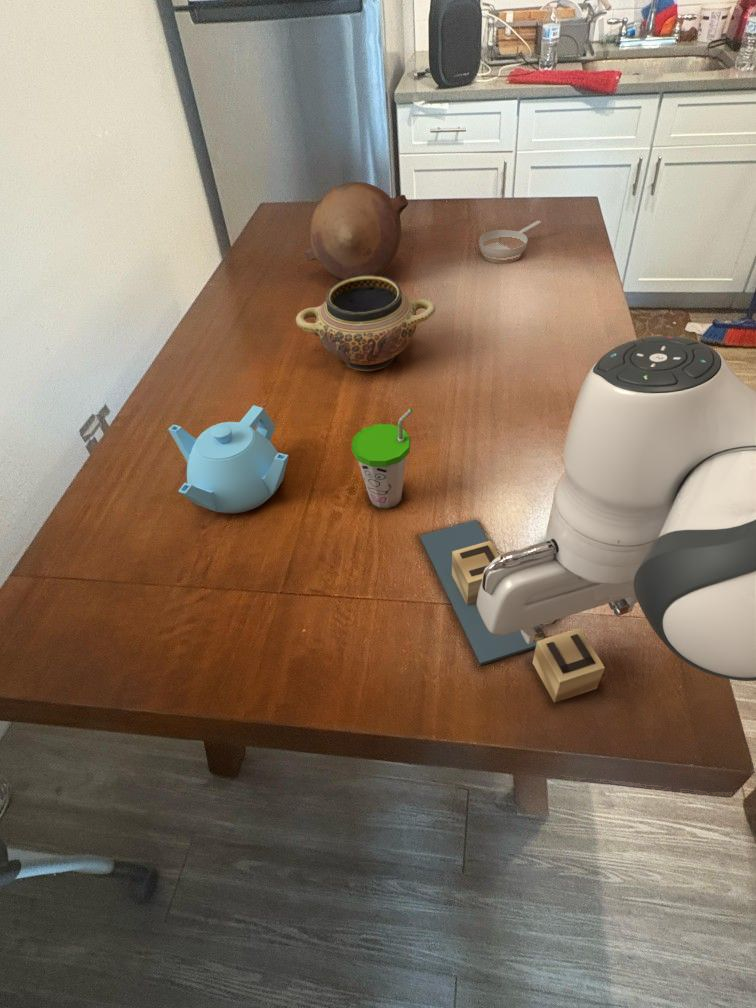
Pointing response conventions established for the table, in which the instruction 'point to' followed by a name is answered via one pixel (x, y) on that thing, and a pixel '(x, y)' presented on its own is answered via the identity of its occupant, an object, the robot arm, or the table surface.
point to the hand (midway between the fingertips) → (575, 622)
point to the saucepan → (503, 251)
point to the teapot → (232, 463)
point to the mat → (468, 615)
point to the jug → (356, 230)
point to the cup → (383, 460)
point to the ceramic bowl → (365, 321)
